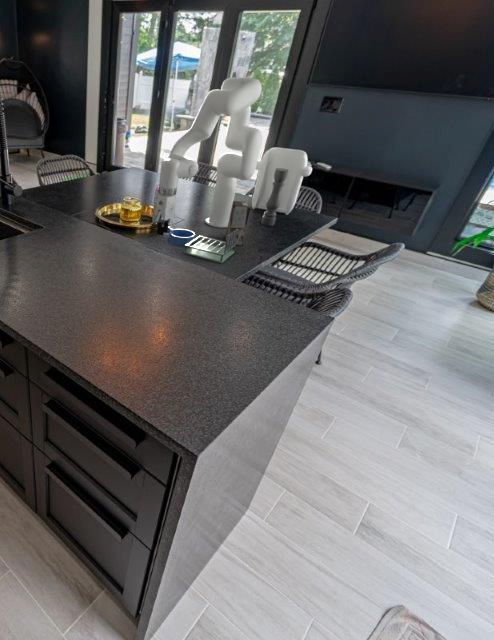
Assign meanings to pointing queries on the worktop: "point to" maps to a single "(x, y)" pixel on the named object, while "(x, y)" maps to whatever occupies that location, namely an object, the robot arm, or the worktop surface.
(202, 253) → the dish rack
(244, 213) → the coffee box
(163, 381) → the worktop surface
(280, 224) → the worktop surface
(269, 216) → the candle holder
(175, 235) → the pan
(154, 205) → the candy bar box
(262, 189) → the toaster
